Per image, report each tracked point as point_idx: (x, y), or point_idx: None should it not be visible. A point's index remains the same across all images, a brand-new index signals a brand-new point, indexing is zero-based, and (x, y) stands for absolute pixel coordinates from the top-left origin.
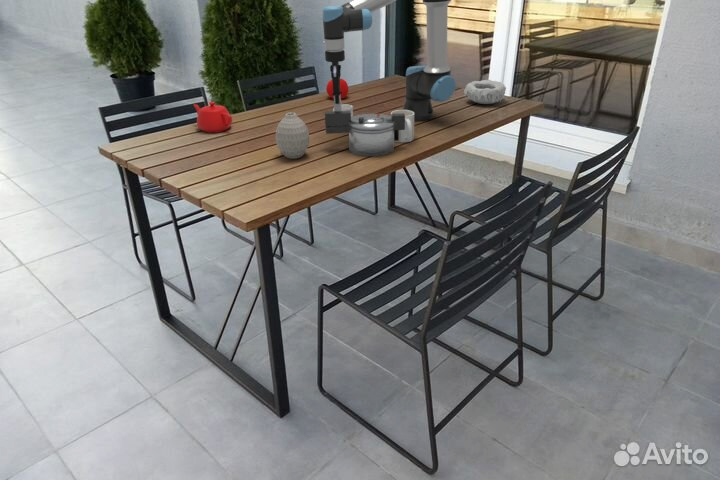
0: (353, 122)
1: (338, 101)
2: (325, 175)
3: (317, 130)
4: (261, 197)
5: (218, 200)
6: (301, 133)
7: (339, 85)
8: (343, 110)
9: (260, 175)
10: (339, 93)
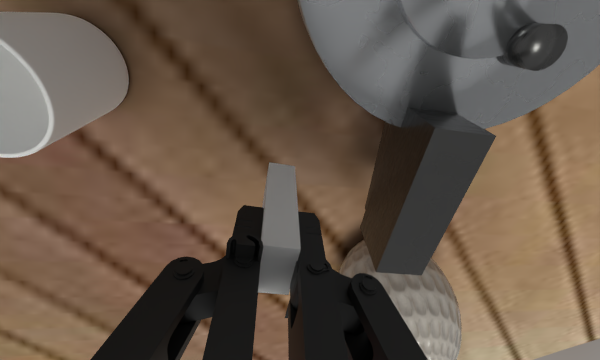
0: (474, 99)
1: (318, 229)
2: (567, 189)
3: (113, 179)
4: (583, 302)
5: (543, 348)
6: (456, 303)
7: (251, 346)
8: (56, 100)
9: (469, 307)
10: (377, 288)
